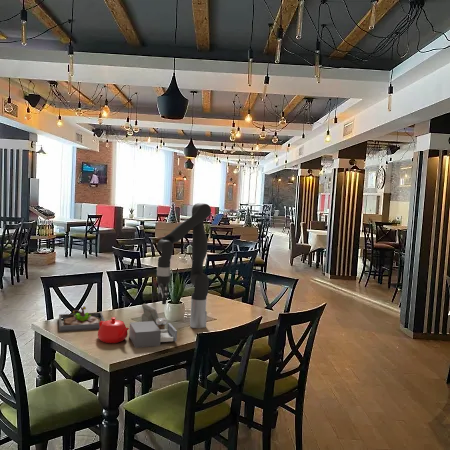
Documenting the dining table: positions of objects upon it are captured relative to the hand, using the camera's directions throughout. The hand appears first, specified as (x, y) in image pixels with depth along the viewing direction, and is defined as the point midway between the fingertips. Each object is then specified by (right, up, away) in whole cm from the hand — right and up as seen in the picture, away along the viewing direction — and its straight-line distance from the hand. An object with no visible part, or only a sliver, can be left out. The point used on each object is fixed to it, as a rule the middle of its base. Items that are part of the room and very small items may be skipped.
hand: (162, 302), depth 242 cm
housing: (-7, -18, -17) cm, 25 cm away
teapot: (-23, -17, -18) cm, 34 cm away
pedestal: (-1, -17, +1) cm, 17 cm away
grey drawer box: (+2, -17, -13) cm, 21 cm away
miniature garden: (-49, -15, +9) cm, 52 cm away
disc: (-1, -12, +1) cm, 12 cm away
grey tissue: (-10, -16, +18) cm, 26 cm away
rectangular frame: (-49, -14, +8) cm, 52 cm away
